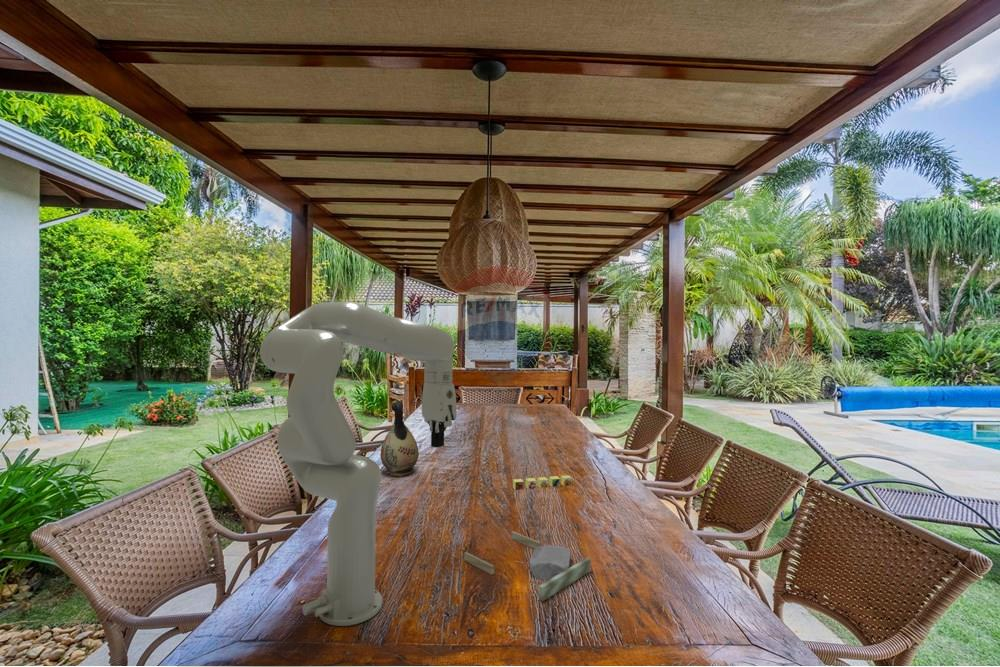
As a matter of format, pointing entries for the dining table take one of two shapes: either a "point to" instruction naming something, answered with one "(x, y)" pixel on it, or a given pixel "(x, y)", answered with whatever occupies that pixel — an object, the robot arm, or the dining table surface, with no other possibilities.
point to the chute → (550, 585)
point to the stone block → (549, 561)
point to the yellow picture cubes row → (542, 482)
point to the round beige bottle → (399, 446)
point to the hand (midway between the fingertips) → (437, 446)
